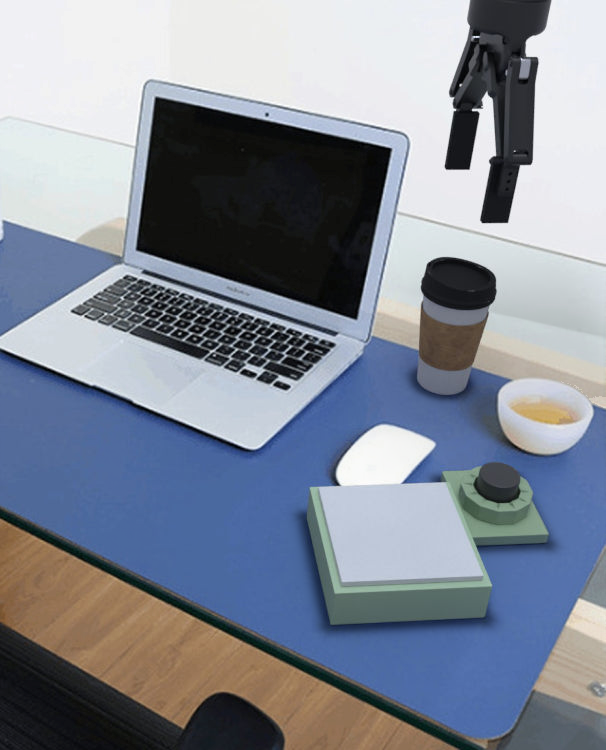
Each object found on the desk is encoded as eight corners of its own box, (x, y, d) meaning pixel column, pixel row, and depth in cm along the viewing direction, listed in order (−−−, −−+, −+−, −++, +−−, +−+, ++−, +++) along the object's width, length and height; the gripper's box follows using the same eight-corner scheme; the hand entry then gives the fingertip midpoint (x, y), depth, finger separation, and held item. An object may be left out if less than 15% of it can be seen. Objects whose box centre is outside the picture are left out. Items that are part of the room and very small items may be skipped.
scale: (443, 512, 101) (450, 477, 99) (484, 617, 90) (494, 581, 87) (306, 517, 100) (309, 482, 97) (330, 625, 88) (335, 588, 86)
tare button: (509, 476, 102) (513, 460, 101) (522, 502, 99) (526, 487, 98) (471, 478, 102) (474, 462, 100) (482, 504, 98) (486, 488, 97)
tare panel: (513, 477, 106) (519, 454, 104) (546, 543, 98) (553, 520, 96) (440, 479, 105) (444, 457, 104) (467, 546, 97) (472, 523, 95)
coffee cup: (415, 355, 125) (433, 247, 117) (483, 371, 123) (506, 262, 114) (398, 390, 119) (415, 279, 110) (469, 408, 116) (492, 296, 108)
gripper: (440, -44, 105) (412, 149, 117) (517, 21, 84) (474, 247, 96) (509, -43, 106) (474, 149, 118) (602, 22, 85) (549, 247, 97)
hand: (474, 194), depth 107 cm, fingers open, 13 cm apart
